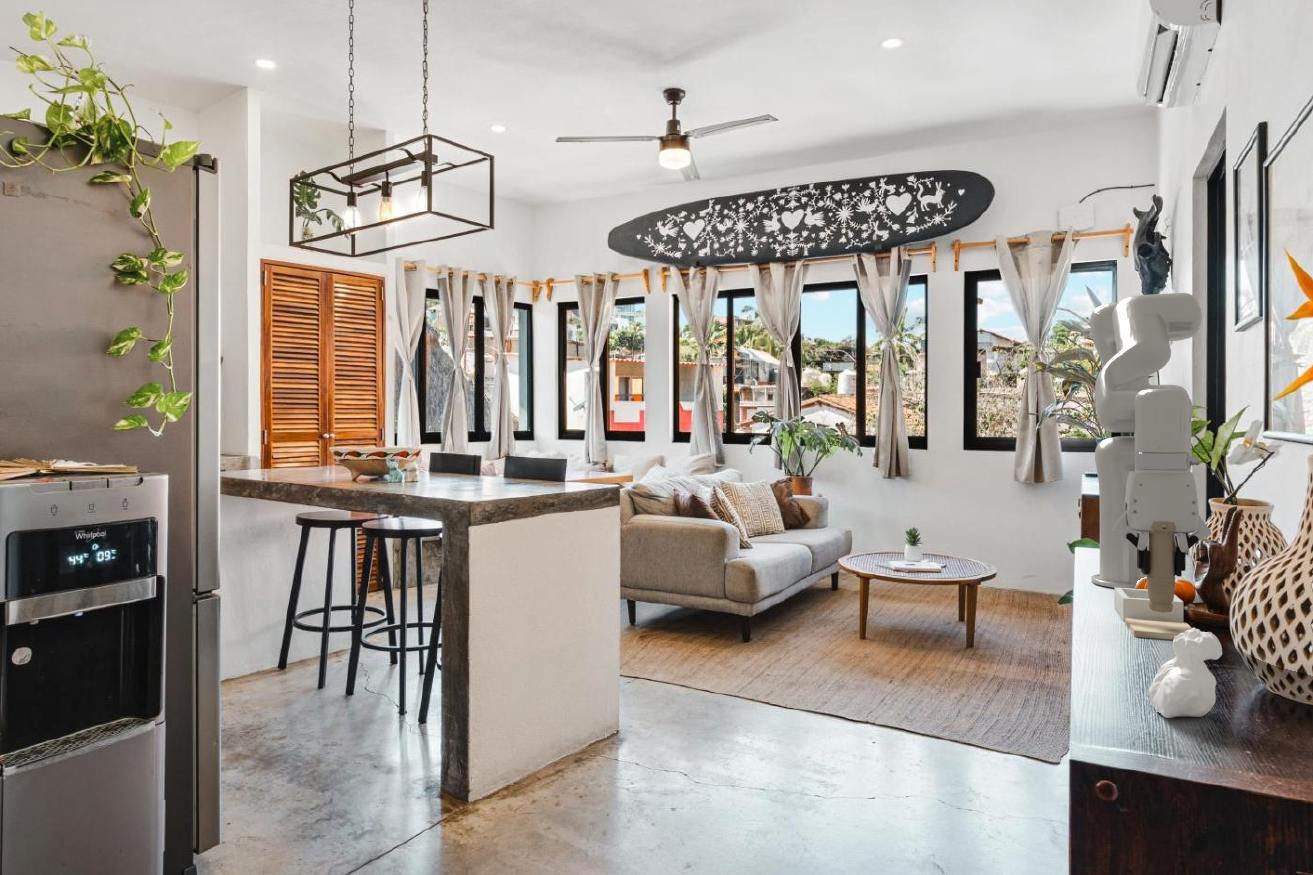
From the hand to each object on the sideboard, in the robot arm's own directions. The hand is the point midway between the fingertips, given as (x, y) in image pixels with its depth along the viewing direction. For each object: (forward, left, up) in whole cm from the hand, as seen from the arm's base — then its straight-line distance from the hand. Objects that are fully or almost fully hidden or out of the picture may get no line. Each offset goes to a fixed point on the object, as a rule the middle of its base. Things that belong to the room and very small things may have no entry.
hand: (1160, 573), depth 134 cm
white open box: (-12, 0, -10) cm, 15 cm away
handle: (0, 0, -6) cm, 6 cm away
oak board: (0, 0, -10) cm, 10 cm away
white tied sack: (+41, -5, -10) cm, 43 cm away
